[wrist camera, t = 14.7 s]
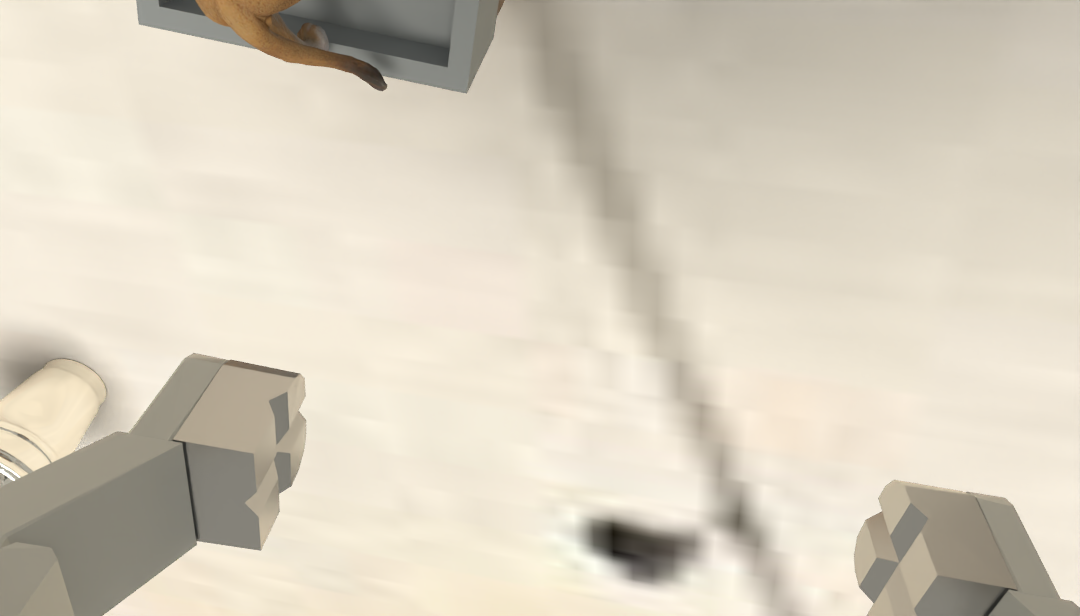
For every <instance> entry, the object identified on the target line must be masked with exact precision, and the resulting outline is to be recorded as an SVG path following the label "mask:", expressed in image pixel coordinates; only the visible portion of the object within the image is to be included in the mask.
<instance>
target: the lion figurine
mask: <svg viewBox="0 0 1080 616" xmlns="http://www.w3.org/2000/svg"><path fill="white" fill-rule="evenodd" d="M195 1H196V2H197V4H198V6H199V7H200V8H201V10H202V11H203V13H204V14H205V15H206V16H207V17H208V18H209V19H211V20H212V21H214V22H216V23H218V24H220V25H223V26H227V27H231V29H232V30H233V31H234V32H235V33H236V34H237V35H239V36H240V37H241V38H242V39H243V40H245V41H246V42H247V43H249V44H250V45H252V46H253V47H255V48H257V49H259V50H260V51H262V52H264V53H266V54H268V55H271V56H274V57H276V58H279V59H282V60H283V61H286V62H291V63H300V64H305V65H311V66H323V67H330V68H335V69H339V70H342V71H345V72H349V73H353V74H355V75H357V76H358V77H359V78H361V79H362V80H364V81H366V82H367V83H368V84H370V85H371V86H372V87H373V88H375V89H377V90H379V91H383V90H385V89H386V88H387V84H386V83H385V81H384V79H383V77H382V75H381V73H380V71H379V70H378V69H377V68H375V67H373V66H372V65H370V64H369V63H367V62H364V61H362V60H359V59H356V58H354V57H352V56H348V55H343V54H338V53H334V52H330V51H329V42H328V38H327V35H326V33H325V31H324V30H323V29H322V28H321V27H320V26H318V25H314V24H312V23H304V24H303V25H302V27H301V29H300V30H299V32H298V33H297V36H296V35H295V34H294V33H293V32H292V31H291V30H290V29H289V28H288V27H287V25H286V24H285V22H284V21H283V19H282V18H281V16H280V15H279V13H278V12H281V11H283V10H286V9H287V8H289V7H291V6H293V5H294V4H296V3H298V2H299V1H301V0H195Z"/></svg>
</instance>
